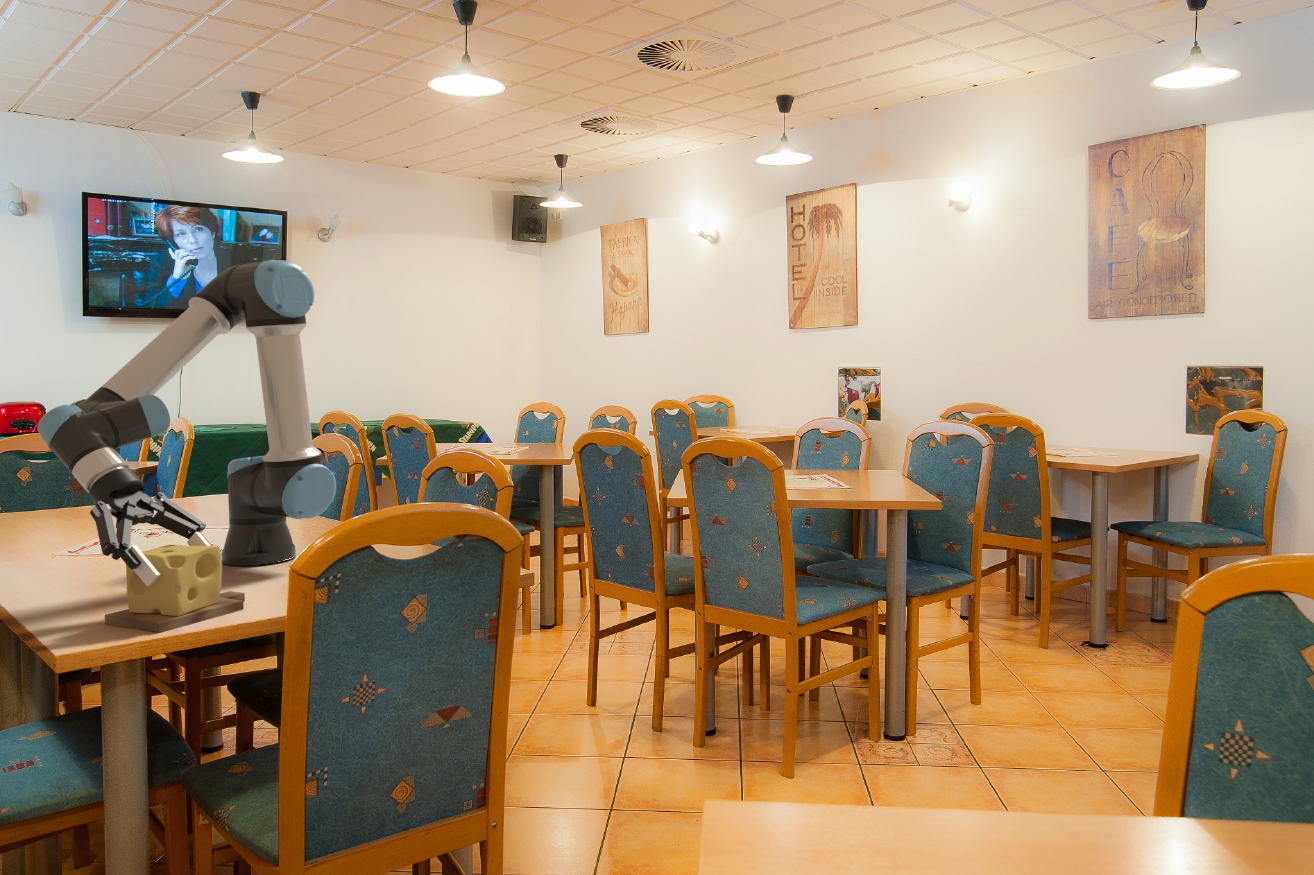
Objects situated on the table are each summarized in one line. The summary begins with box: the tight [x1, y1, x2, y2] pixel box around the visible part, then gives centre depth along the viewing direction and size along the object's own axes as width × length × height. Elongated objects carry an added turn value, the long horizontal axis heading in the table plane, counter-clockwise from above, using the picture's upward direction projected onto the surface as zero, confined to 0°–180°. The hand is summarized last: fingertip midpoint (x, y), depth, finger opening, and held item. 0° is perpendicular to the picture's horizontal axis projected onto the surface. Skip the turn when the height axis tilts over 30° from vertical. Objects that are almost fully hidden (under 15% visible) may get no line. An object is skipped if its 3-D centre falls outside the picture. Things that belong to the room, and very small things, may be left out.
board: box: [104, 590, 246, 633], centre depth 153 cm, size 20×13×2 cm, turn 156°
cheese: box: [125, 544, 223, 616], centre depth 150 cm, size 10×11×10 cm
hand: (186, 572), depth 150 cm, fingers open, 13 cm apart
